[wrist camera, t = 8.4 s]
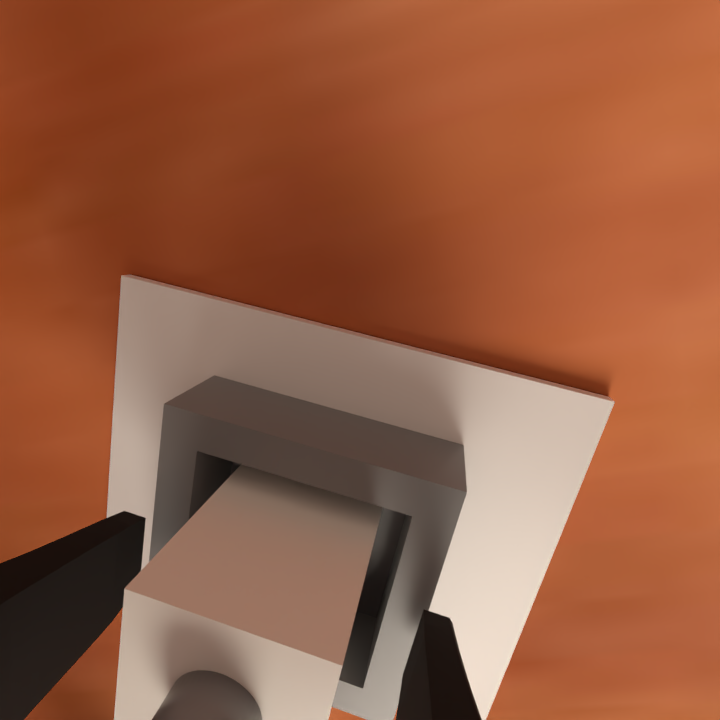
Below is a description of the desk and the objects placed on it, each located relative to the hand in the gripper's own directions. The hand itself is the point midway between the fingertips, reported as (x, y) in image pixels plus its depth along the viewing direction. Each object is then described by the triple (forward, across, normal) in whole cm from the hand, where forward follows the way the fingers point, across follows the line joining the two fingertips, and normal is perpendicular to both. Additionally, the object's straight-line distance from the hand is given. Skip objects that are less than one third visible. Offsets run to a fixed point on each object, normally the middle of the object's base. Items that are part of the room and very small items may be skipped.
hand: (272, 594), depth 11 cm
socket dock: (+4, 0, 0) cm, 4 cm away
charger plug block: (+3, 0, 0) cm, 3 cm away
